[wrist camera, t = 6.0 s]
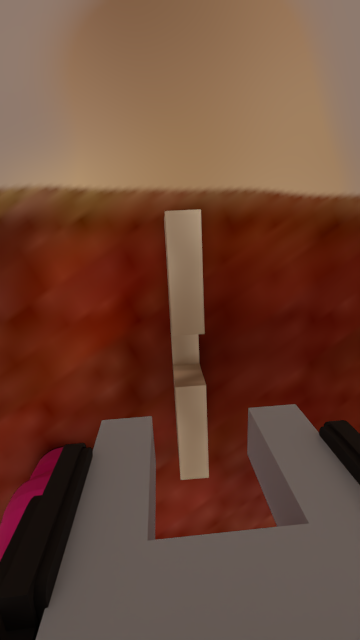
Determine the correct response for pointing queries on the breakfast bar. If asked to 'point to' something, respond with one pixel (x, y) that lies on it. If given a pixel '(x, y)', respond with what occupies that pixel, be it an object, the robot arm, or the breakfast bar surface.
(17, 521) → the pepper mill
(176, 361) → the beige notched bar
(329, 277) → the breakfast bar surface
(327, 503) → the notched plate
